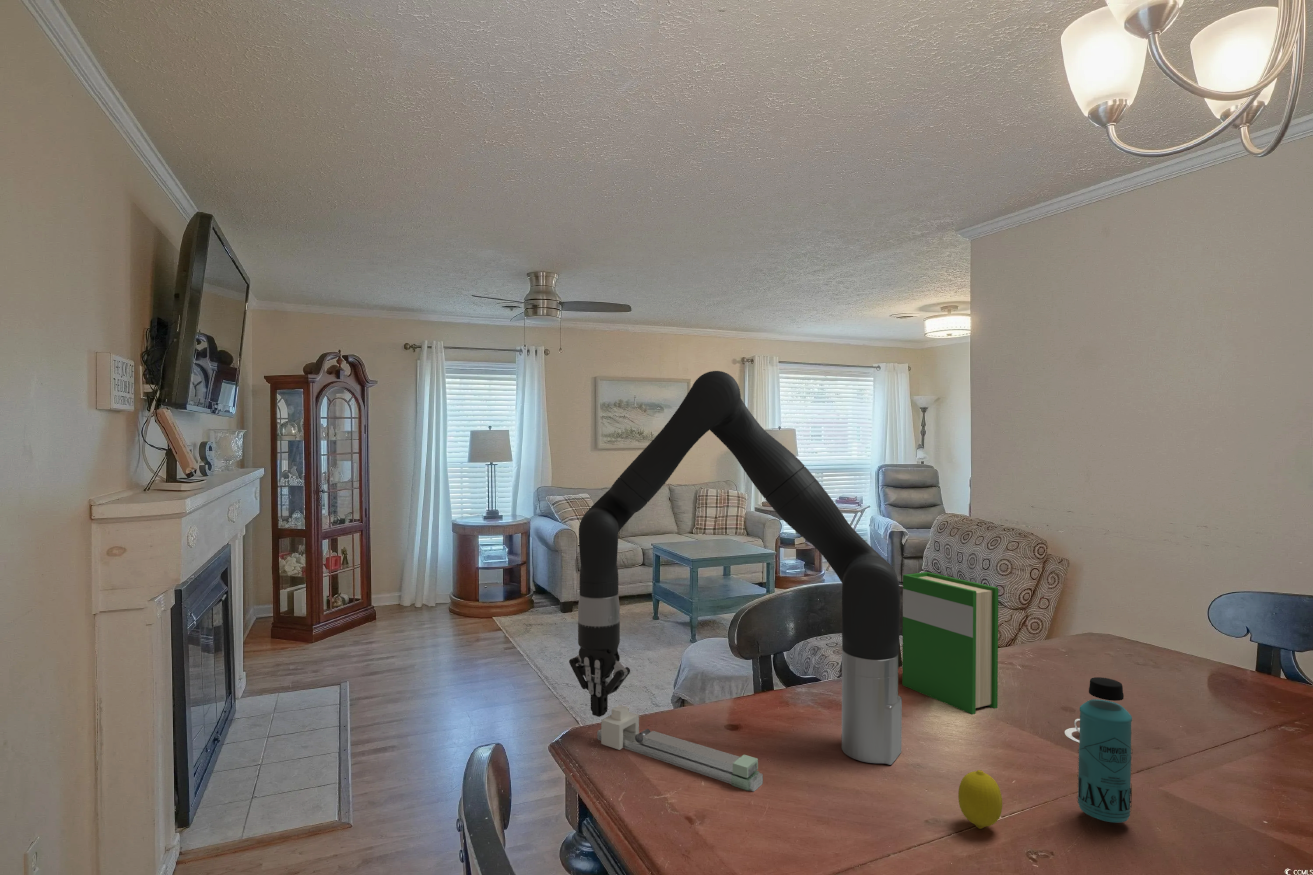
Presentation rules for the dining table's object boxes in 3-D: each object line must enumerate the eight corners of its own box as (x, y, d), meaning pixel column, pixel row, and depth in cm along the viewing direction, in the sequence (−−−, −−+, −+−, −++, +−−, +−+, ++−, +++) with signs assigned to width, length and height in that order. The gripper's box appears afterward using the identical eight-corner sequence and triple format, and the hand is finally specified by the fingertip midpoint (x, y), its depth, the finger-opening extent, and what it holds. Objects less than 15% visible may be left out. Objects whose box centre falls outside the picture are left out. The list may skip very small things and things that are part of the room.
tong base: (596, 739, 124) (596, 722, 124) (609, 732, 127) (609, 715, 127) (752, 792, 106) (753, 771, 106) (763, 782, 109) (763, 762, 109)
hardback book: (997, 707, 139) (998, 587, 139) (972, 714, 136) (973, 591, 136) (926, 679, 155) (927, 571, 155) (902, 685, 151) (903, 574, 151)
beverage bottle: (1066, 809, 101) (1067, 672, 101) (1109, 807, 102) (1110, 671, 102) (1098, 835, 95) (1099, 689, 95) (1144, 833, 95) (1145, 687, 95)
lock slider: (601, 743, 122) (601, 710, 122) (621, 732, 126) (621, 700, 126) (619, 749, 119) (619, 716, 119) (638, 738, 124) (639, 705, 124)
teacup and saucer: (1117, 736, 127) (1118, 713, 127) (1125, 754, 120) (1126, 730, 120) (1062, 727, 131) (1062, 705, 131) (1066, 744, 124) (1067, 721, 124)
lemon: (1007, 841, 93) (1007, 782, 93) (963, 836, 94) (963, 777, 94) (995, 819, 99) (996, 763, 99) (954, 814, 100) (954, 759, 100)
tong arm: (641, 744, 118) (641, 734, 118) (654, 736, 121) (654, 727, 121) (747, 777, 106) (747, 767, 106) (757, 768, 109) (757, 758, 109)
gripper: (640, 620, 125) (640, 716, 125) (585, 609, 133) (585, 700, 133) (614, 629, 119) (614, 730, 119) (557, 617, 126) (557, 712, 127)
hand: (598, 714), depth 126 cm, fingers closed
